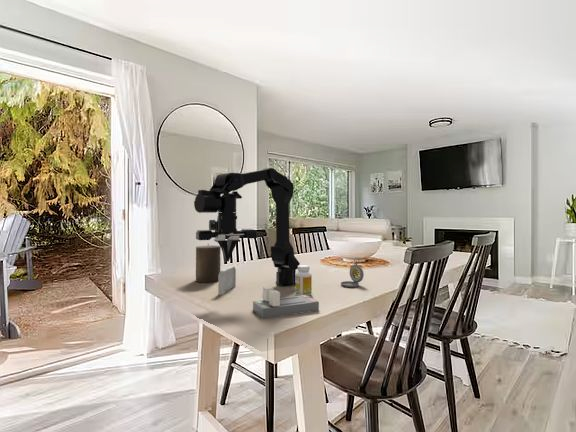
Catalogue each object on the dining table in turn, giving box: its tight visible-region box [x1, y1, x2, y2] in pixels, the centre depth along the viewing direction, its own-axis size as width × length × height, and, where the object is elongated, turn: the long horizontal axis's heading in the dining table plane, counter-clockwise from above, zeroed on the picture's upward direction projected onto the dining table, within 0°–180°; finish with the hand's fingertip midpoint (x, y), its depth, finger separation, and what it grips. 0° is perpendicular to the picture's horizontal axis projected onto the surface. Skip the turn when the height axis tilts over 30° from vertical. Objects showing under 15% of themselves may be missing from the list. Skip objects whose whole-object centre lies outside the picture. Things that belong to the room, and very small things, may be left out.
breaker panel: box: [252, 295, 320, 319], centre depth 93 cm, size 17×8×3 cm, turn 115°
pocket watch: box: [340, 258, 365, 288], centre depth 123 cm, size 8×8×10 cm
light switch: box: [217, 265, 237, 296], centre depth 115 cm, size 2×12×8 cm, turn 168°
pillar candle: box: [195, 243, 221, 284], centre depth 131 cm, size 10×10×15 cm
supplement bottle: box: [295, 264, 313, 297], centre depth 110 cm, size 5×5×10 cm
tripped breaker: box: [269, 289, 281, 306], centre depth 89 cm, size 2×3×4 cm
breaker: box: [262, 285, 274, 302], centre depth 93 cm, size 2×3×4 cm
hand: (227, 261), depth 104 cm, fingers closed
